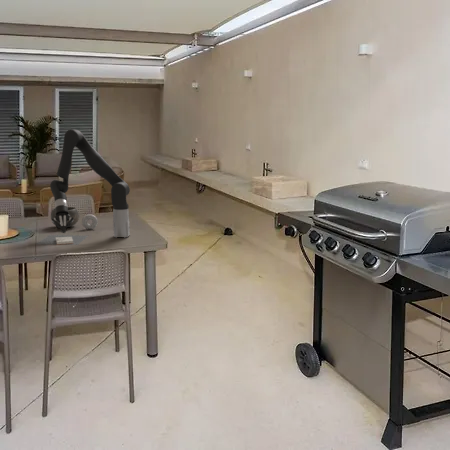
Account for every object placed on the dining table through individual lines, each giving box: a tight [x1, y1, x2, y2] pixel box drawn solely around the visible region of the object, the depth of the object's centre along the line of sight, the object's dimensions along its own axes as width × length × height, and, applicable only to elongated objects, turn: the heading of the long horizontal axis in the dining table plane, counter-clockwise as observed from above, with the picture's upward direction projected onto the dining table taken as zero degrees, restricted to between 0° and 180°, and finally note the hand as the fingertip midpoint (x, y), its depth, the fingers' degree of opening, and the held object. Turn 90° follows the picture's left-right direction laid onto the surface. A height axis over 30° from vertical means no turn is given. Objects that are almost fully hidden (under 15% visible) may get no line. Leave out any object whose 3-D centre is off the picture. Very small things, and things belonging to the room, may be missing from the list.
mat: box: [36, 234, 89, 246], centre depth 314 cm, size 24×24×1 cm
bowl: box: [50, 206, 80, 229], centre depth 352 cm, size 18×18×13 cm
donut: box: [81, 213, 99, 230], centre depth 345 cm, size 10×3×10 cm, turn 103°
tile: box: [56, 237, 73, 246], centre depth 308 cm, size 2×9×12 cm
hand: (63, 232), depth 308 cm, fingers closed
